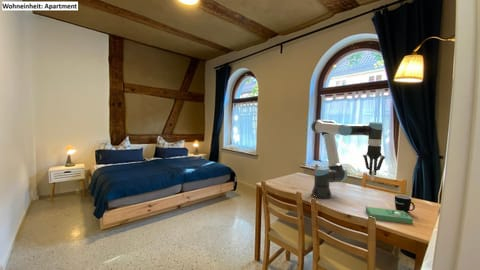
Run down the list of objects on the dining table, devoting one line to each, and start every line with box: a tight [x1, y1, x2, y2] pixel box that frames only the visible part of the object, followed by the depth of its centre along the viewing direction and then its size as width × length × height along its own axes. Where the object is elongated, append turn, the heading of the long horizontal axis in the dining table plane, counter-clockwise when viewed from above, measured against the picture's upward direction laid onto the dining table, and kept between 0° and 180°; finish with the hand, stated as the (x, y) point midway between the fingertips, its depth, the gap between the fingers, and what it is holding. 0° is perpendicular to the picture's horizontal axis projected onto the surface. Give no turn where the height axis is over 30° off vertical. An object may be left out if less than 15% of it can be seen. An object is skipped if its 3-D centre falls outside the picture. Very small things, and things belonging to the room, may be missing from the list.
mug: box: [394, 193, 416, 214], centre depth 144 cm, size 12×9×10 cm
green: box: [365, 206, 414, 225], centre depth 136 cm, size 22×12×3 cm, turn 73°
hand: (372, 179), depth 143 cm, fingers closed
